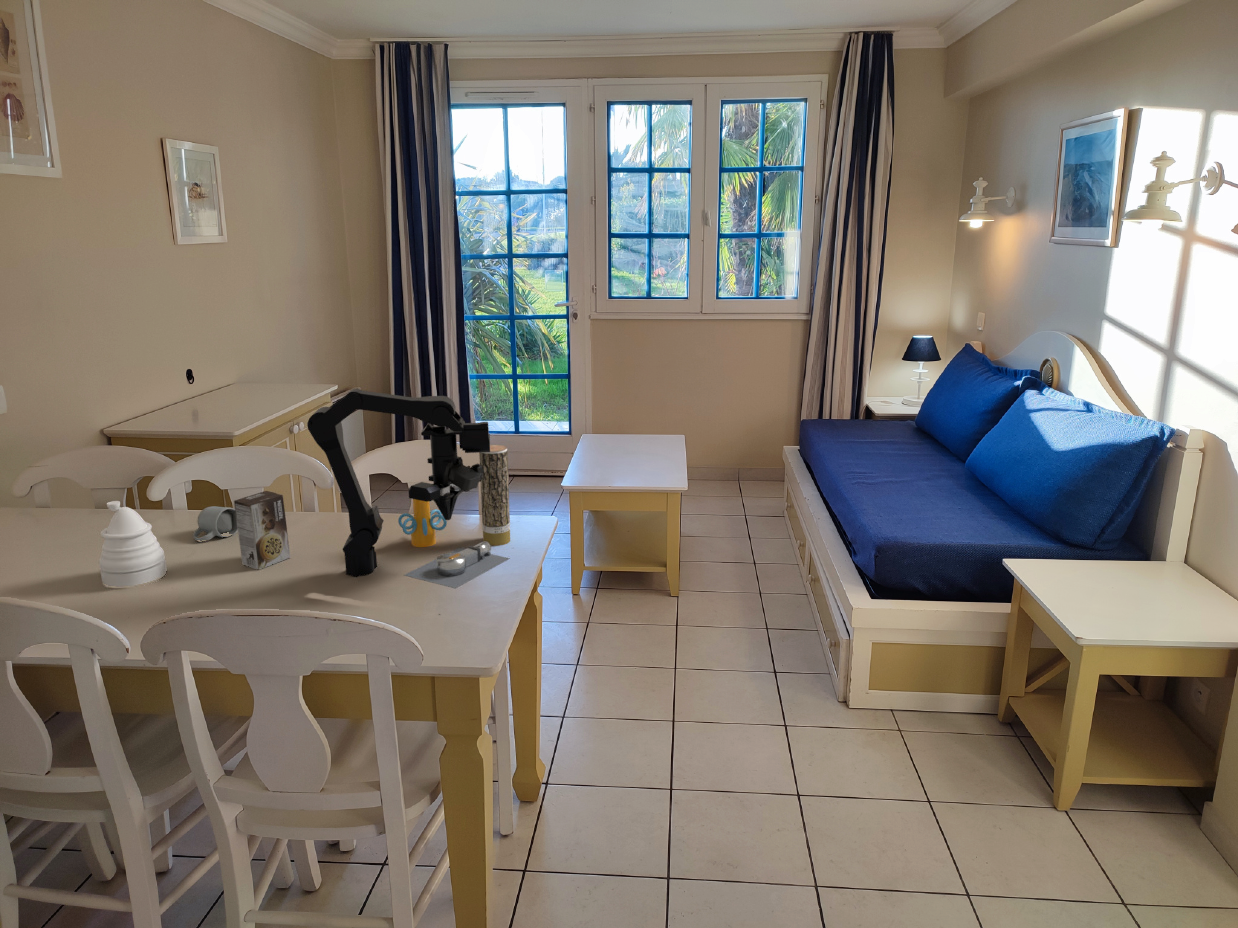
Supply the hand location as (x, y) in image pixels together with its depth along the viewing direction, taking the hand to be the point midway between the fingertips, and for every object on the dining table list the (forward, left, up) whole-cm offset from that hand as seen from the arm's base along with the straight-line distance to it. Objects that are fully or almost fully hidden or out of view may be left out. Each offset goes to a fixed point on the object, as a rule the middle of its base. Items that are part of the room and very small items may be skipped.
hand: (447, 519), depth 193 cm
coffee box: (-17, +42, -13) cm, 47 cm away
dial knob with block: (+1, -2, -11) cm, 12 cm away
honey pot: (-38, +60, -13) cm, 72 cm away
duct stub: (+9, -2, -12) cm, 15 cm away
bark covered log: (+19, +1, -13) cm, 23 cm away
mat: (+1, -1, -12) cm, 13 cm away
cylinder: (+9, +16, -13) cm, 22 cm away
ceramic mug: (-11, +68, -13) cm, 70 cm away
